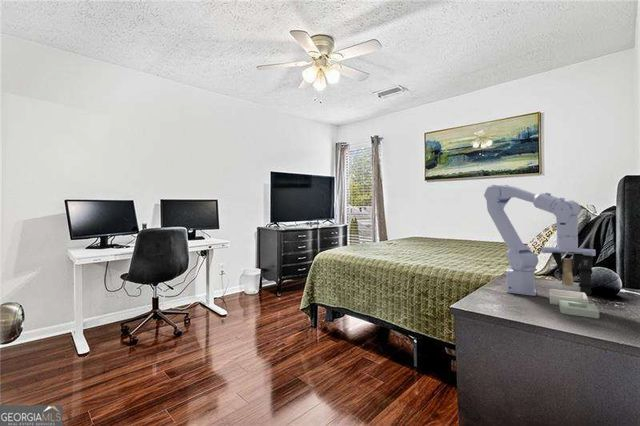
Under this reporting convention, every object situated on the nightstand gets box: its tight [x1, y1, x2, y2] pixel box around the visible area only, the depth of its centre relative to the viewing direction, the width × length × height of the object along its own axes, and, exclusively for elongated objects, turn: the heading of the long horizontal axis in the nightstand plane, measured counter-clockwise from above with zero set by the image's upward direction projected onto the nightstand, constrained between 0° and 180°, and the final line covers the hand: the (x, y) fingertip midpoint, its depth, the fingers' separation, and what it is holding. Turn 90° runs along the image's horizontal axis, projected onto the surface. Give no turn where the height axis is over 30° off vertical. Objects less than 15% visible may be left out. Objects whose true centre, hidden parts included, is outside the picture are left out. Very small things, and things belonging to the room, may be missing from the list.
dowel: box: [561, 257, 574, 287], centre depth 106 cm, size 3×3×9 cm
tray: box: [548, 288, 589, 306], centre depth 107 cm, size 10×10×3 cm
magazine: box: [578, 255, 594, 295], centre depth 121 cm, size 4×13×15 cm, turn 137°
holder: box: [558, 300, 600, 320], centre depth 97 cm, size 9×9×2 cm
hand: (567, 275), depth 106 cm, fingers closed on dowel, 3 cm apart
